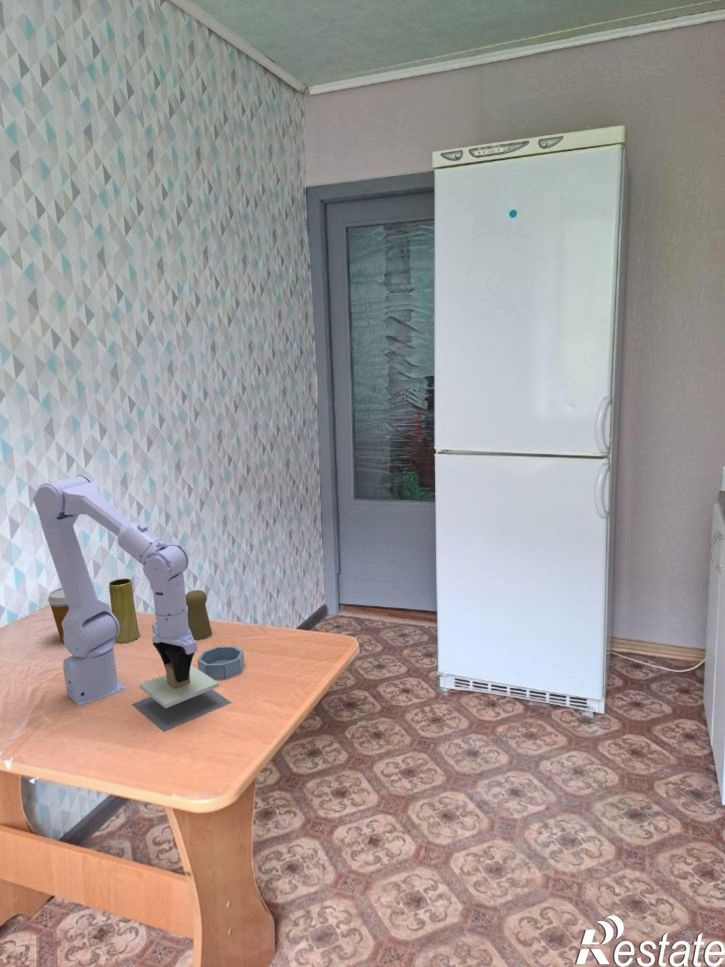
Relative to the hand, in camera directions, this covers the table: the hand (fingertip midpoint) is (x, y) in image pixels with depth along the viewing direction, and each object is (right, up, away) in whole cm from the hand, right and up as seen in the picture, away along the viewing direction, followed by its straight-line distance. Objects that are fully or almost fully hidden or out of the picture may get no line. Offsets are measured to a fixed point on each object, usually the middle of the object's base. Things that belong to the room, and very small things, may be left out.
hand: (178, 677), depth 130 cm
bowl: (+5, -3, +15) cm, 16 cm away
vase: (-22, -1, +34) cm, 41 cm away
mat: (0, -6, +1) cm, 6 cm away
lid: (0, -2, 0) cm, 2 cm away
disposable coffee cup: (-35, -1, +36) cm, 50 cm away
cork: (-4, 0, +34) cm, 34 cm away
